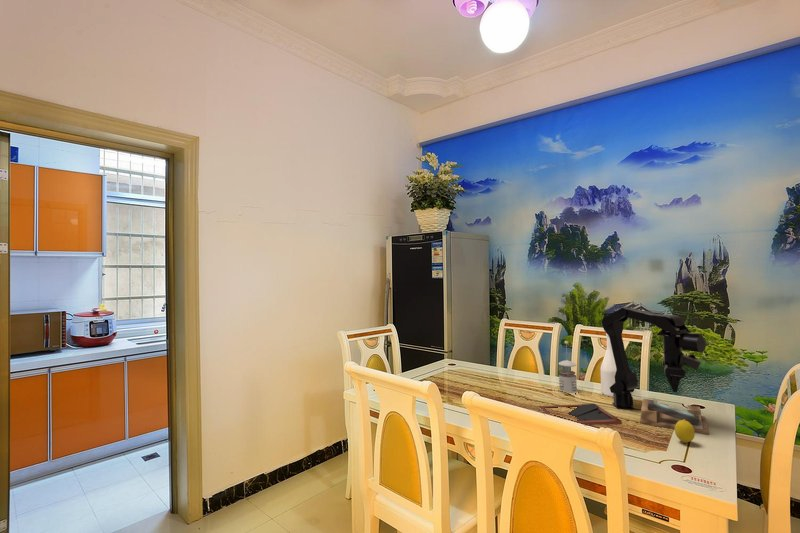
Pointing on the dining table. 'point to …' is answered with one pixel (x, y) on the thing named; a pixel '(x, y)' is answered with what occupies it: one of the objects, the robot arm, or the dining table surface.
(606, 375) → the wine bottle
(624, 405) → the robot arm
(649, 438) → the dining table surface
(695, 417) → the picture frame
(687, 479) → the dining table surface
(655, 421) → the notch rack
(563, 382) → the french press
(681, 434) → the lemon
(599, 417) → the picture frame
